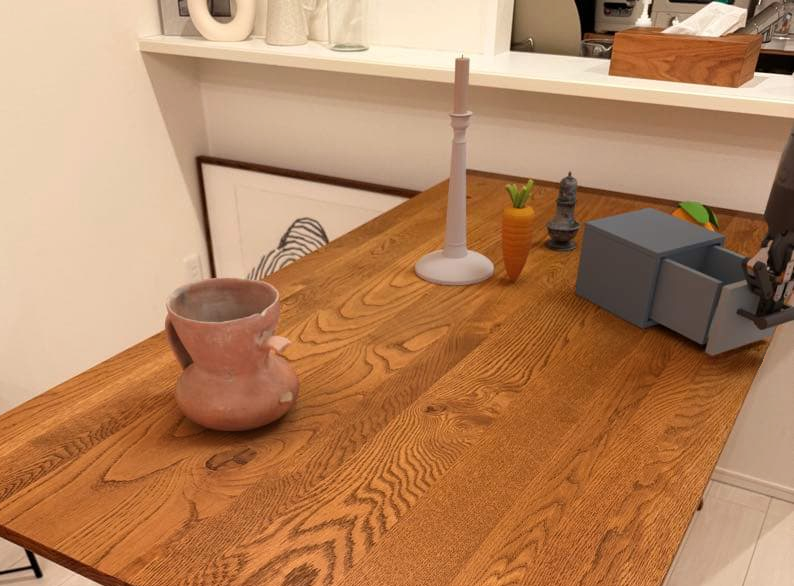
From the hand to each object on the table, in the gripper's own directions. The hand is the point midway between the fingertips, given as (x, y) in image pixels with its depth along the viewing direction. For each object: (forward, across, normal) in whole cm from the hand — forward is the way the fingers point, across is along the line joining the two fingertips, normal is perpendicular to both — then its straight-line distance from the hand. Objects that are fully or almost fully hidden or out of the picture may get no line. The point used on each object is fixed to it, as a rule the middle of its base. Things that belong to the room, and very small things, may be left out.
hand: (763, 325), depth 97 cm
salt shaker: (+5, +5, +46) cm, 47 cm away
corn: (+5, +20, +30) cm, 37 cm away
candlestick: (+5, -17, +46) cm, 49 cm away
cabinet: (+5, 0, +21) cm, 22 cm away
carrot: (+5, -12, +37) cm, 39 cm away
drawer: (+4, 0, +6) cm, 7 cm away
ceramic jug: (+5, -63, +22) cm, 67 cm away
